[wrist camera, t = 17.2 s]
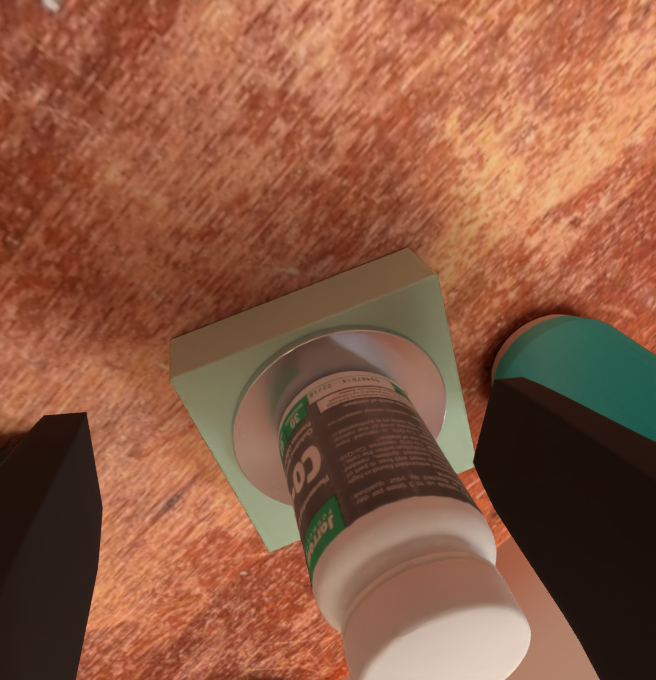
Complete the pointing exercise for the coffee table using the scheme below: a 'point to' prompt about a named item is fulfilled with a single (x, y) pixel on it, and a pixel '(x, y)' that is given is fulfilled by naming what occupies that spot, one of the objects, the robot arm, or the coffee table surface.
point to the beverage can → (585, 367)
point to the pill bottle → (395, 538)
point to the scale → (317, 372)
